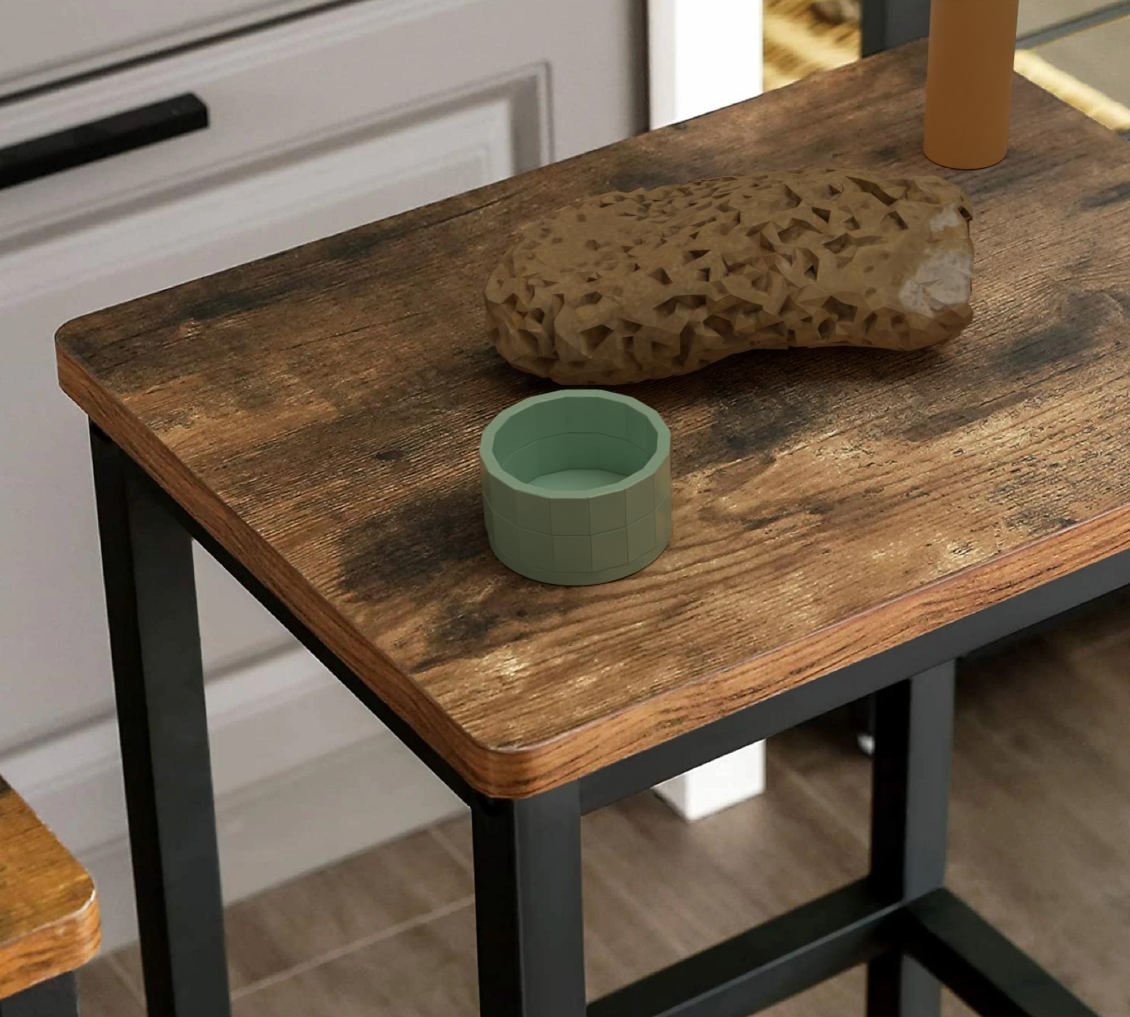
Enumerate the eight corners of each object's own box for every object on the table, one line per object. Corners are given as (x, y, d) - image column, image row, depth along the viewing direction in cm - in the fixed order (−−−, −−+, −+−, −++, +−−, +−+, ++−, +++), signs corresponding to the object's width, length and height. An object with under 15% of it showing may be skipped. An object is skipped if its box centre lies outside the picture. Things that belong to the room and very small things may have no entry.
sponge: (940, 279, 97) (503, 201, 97) (989, 143, 91) (525, 58, 91) (942, 491, 88) (462, 406, 88) (997, 355, 82) (483, 263, 82)
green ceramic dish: (702, 499, 83) (701, 412, 80) (623, 605, 78) (619, 515, 75) (539, 458, 85) (534, 373, 83) (454, 558, 80) (445, 471, 78)
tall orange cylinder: (1017, 139, 105) (1033, -58, 99) (992, 175, 102) (1007, -25, 96) (938, 126, 107) (949, -69, 101) (911, 161, 104) (921, -37, 98)
